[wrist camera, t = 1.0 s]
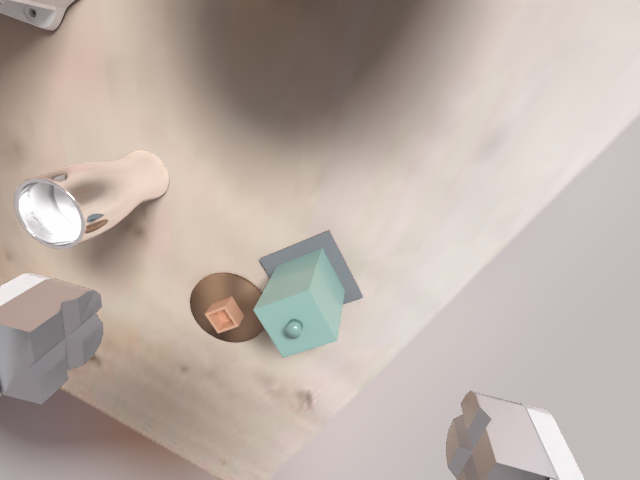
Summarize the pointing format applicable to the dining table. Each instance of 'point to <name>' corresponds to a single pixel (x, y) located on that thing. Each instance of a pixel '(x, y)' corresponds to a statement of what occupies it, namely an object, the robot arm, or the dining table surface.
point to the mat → (310, 246)
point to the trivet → (223, 288)
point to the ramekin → (224, 315)
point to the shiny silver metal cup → (87, 197)
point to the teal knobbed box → (302, 304)
